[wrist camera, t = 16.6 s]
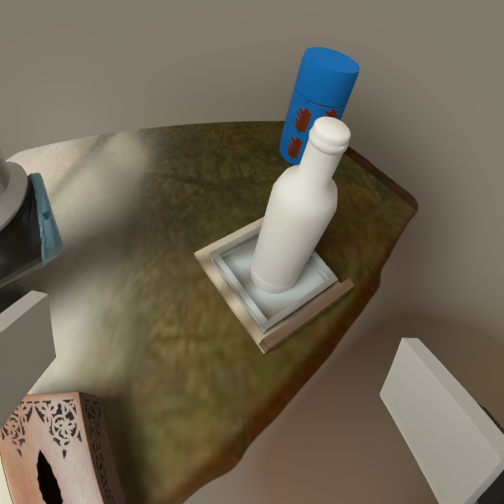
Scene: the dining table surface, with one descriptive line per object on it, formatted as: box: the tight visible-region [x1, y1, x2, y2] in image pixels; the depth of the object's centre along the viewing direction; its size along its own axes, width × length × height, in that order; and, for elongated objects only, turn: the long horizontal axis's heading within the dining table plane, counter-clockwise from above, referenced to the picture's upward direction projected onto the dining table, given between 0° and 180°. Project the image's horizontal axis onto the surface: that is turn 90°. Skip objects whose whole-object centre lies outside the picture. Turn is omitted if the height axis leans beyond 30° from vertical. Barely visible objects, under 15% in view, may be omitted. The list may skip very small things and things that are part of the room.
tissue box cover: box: [0, 392, 127, 504], centre depth 29 cm, size 26×14×10 cm, turn 15°
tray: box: [194, 217, 355, 354], centre depth 53 cm, size 20×18×4 cm
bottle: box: [250, 117, 351, 294], centre depth 40 cm, size 8×8×30 cm
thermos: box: [279, 47, 359, 165], centre depth 61 cm, size 11×11×25 cm
